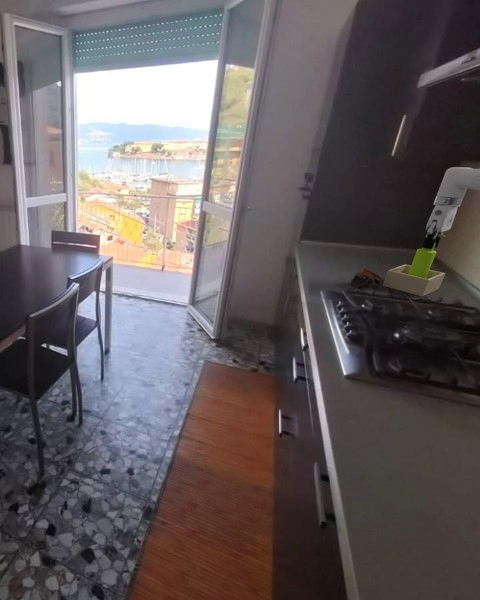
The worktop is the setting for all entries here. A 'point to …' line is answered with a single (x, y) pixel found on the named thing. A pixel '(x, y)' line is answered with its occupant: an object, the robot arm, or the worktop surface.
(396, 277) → the open rectangular box
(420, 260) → the soap dispenser
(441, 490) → the worktop surface
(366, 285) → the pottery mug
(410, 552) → the worktop surface
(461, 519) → the worktop surface
